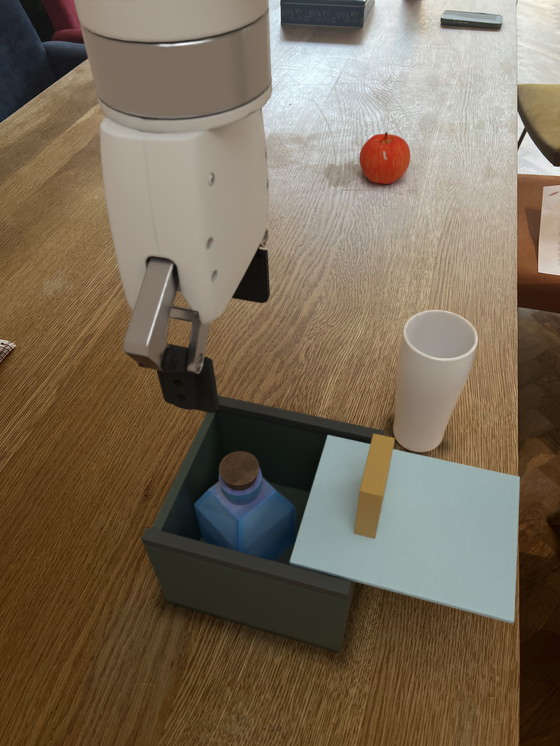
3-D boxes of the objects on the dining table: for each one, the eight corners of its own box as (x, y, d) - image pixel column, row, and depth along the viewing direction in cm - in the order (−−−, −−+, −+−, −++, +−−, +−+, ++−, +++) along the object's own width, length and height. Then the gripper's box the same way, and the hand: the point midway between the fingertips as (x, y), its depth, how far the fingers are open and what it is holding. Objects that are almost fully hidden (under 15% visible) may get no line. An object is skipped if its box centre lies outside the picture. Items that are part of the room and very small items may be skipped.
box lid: (518, 479, 49) (541, 430, 44) (512, 624, 41) (540, 583, 36) (327, 437, 52) (329, 387, 47) (289, 564, 44) (287, 520, 40)
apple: (405, 193, 98) (412, 145, 92) (355, 189, 99) (358, 142, 93) (408, 168, 103) (415, 121, 97) (360, 164, 104) (364, 118, 99)
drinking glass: (379, 451, 64) (395, 351, 53) (392, 404, 69) (409, 302, 58) (444, 467, 63) (474, 368, 52) (453, 418, 67) (483, 316, 56)
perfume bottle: (245, 585, 54) (233, 517, 45) (202, 538, 57) (183, 466, 48) (295, 541, 57) (294, 469, 48) (252, 498, 60) (243, 423, 51)
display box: (372, 504, 60) (384, 430, 51) (340, 653, 51) (347, 594, 42) (223, 468, 63) (210, 393, 55) (167, 603, 54) (140, 538, 45)
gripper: (179, -11, 32) (214, 256, 45) (-18, 146, 21) (102, 442, 34) (318, -2, 30) (314, 272, 43) (185, 173, 19) (231, 473, 32)
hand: (221, 346), depth 38 cm, fingers open, 9 cm apart
